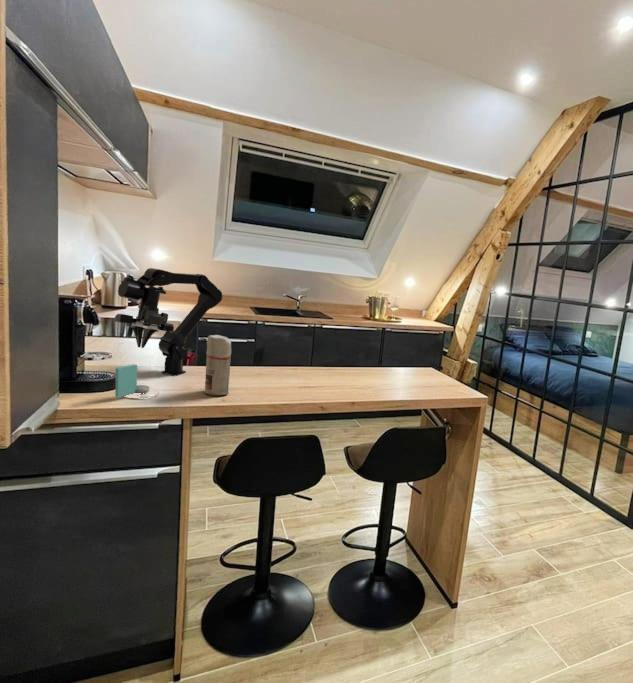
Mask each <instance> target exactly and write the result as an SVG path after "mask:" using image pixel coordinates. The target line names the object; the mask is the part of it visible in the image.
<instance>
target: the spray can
mask: <svg viewBox="0 0 633 683" xmlns="http://www.w3.org/2000/svg"><path fill="white" fill-rule="evenodd" d="M231 355H232V340H231V339H229V337H227V336H223V335H220V334H213V335H212V334H210V335H208V336H207V340H206V361H205V362H206V363H205V364H206V366H205V381H204V384H205V385H204V391H203V393H204V392H205V393H204V394H207V395H208V396H215V397H216V396H217V397H218V396H227V395H229V388H230V387H229V385H230V371H231V357H232V356H231Z"/></svg>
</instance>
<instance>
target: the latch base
mask: <svg viewBox="0 0 633 683" xmlns="http://www.w3.org/2000/svg"><path fill="white" fill-rule="evenodd" d="M148 387H149V386H148ZM158 393H159V394H160V391H159V389H158V388H155V387H152V386H151V387H149V391H148V392H146V393H144V394H143V393H141V394H140V395H141V396H140V397H139V398H148V397H153V396H156V395H157V394H158ZM137 396H139V395H137ZM156 397H157V396H156ZM153 398H154V397H153Z"/></svg>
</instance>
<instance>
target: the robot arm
mask: <svg viewBox="0 0 633 683" xmlns="http://www.w3.org/2000/svg"><path fill="white" fill-rule="evenodd" d="M171 284H178V285H179V284H183V285H195V286H196V290H197V292H198V293H199V295H198V297H197V298H198V299H197V303H196V304H195V305H194V307H193V308H192V309H191V310H190V311H189V313H188V314H187V315H186V316H185V317H184V318H183V320H182V321H181V322H180V323H179V324H178V326H177V327H176V329H175V327H174V324H173V323H170V322H169V323H168V318H169V314H168V313H166V312H161V313H160V312H159V307H158V306H159V300H160V295H166V294H167V291H166V290H165V289H164V286H169V285H171ZM156 286H157V287H156ZM117 294H118V296H119V297H121V298H125V299H129V300H133V301H136V302H137V301H139V300H140V303H139V304H138V307H137V308H138V312H137V316H136V317H135V318H134V316H133V315H130V314H124V313H117V314H116V315H115V316H114V321H113V322H115V323H120V324H121V323H122V324H130V325H129V328H132V330H133V334H134V336H135V341H136V345H137V348H141V349H144V348H145V346H146V344H147V343H148V341H149V339H150V338H151V337H152V336H153V335H154V334H155V333H156V332H159V331H164V332H165V333H163V336H162V337H160V338H159V342H158V349H159V351H160V352H161V354H162V355H163V356H165V360H164V361H165V362H164V370H162V371H161V373H162V372H164V373H163V374H165V373H168V374H167V375H169V374H172V375H171V376H174V375H176V376H178V374H179V375H181V374H186V373H187V371H186V370H184V368H183V367H184V360H186V359H187V357H188V353H187V351H186V350H184V347H185V343H186V339H187V337H188V335H189V334H191V332H192V331H193V330H194V328H195V327H196V326H197V324H198V323H199V322H200V321H201V319H202V318H203V317H204V316H205V314H206V313H207V312H208V311H209V310H210V309H213V308H215V307H216V306H217V305H219V304H220V303H221V301H222V300H223V293H222V291H221V290H220V289H219V288H218V287H217V285H215V284H214V283H213V282H212V281H210V279H209V278H208V277H207V276H206V274H202V273H183V272H181V273H177V272H172V271H171V272H170V271H167V270H164V269H158V268H152V267H151V268H150V267H149V268H147V269H146V270H145V271H144V274H143V275H141V276H139V278H137V279H133V278H131V277H129V276H128V277H127V276H125V277H124V278H123V281H122V282H120V285H118V290H117Z"/></svg>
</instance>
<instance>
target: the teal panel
mask: <svg viewBox="0 0 633 683" xmlns="http://www.w3.org/2000/svg"><path fill="white" fill-rule="evenodd" d="M148 391H149V386H148V385H142V384H139V385H138V364H135V363H134V364H129V365H124V366H118V367H115V397H116V398H121V397H122V398H123V396H126V395H129V394H133V393H146V392H148Z"/></svg>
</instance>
